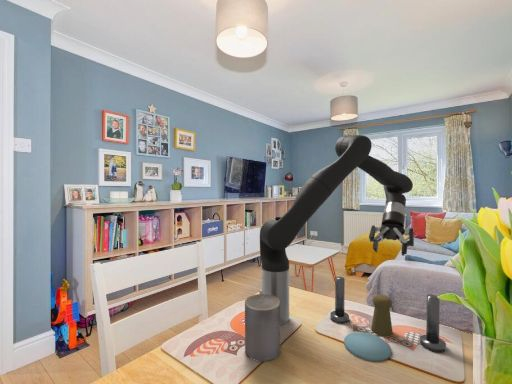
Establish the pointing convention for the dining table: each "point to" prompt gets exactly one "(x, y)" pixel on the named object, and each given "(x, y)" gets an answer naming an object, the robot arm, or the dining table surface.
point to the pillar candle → (262, 327)
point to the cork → (382, 316)
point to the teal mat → (367, 346)
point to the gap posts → (432, 319)
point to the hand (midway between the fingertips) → (388, 252)
